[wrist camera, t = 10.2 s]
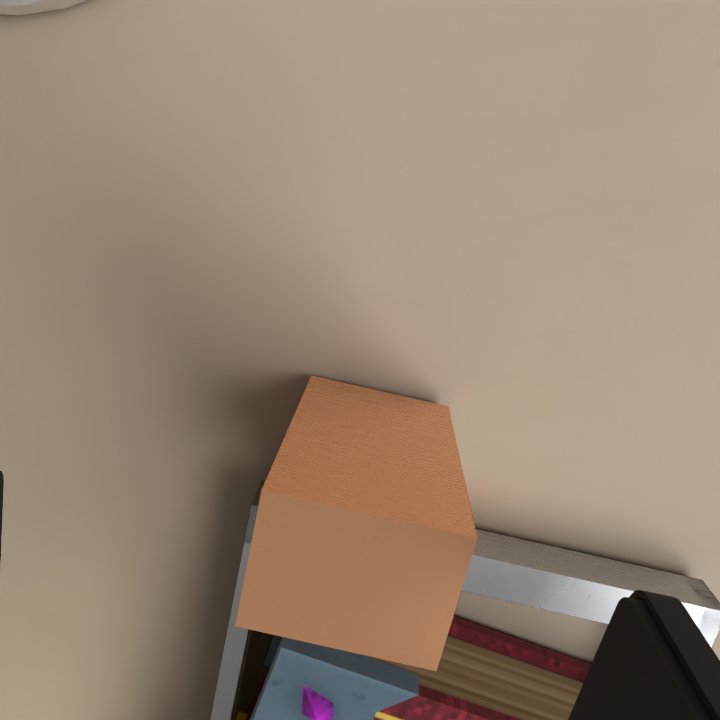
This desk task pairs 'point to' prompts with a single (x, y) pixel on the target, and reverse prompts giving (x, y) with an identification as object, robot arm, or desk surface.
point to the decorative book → (420, 682)
